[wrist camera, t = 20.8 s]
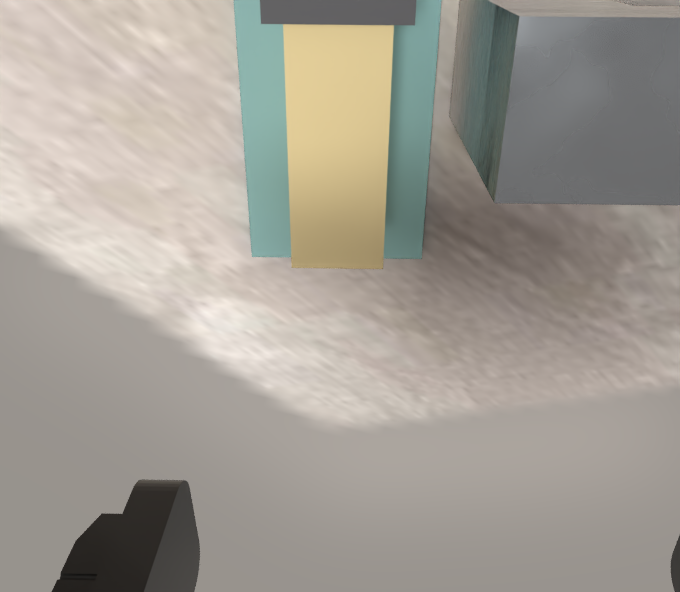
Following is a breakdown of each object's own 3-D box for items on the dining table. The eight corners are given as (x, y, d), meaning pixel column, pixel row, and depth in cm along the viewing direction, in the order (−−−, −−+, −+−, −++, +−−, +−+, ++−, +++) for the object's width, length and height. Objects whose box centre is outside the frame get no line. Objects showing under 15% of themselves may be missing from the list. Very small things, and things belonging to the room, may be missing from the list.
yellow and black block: (409, -116, 22) (424, -129, 18) (392, 222, 29) (399, 280, 24) (274, -117, 23) (253, -130, 18) (287, 221, 29) (274, 278, 24)
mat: (448, -121, 23) (450, -122, 22) (420, 253, 30) (421, 258, 30) (227, -122, 23) (224, -123, 22) (253, 251, 30) (251, 256, 30)
